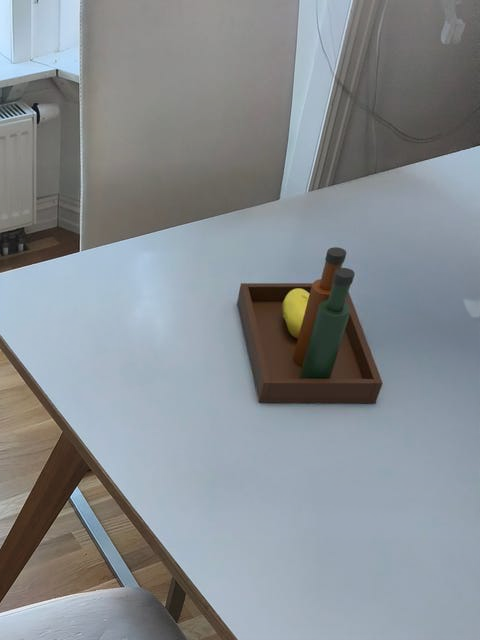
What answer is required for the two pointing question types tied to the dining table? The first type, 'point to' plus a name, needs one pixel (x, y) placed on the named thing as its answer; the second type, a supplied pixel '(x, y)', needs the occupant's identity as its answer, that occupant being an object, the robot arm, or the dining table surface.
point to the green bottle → (328, 329)
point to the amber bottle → (317, 300)
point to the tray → (279, 346)
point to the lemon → (295, 310)
